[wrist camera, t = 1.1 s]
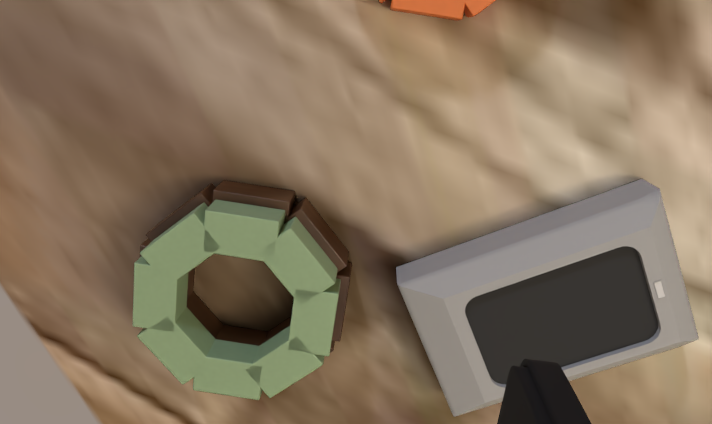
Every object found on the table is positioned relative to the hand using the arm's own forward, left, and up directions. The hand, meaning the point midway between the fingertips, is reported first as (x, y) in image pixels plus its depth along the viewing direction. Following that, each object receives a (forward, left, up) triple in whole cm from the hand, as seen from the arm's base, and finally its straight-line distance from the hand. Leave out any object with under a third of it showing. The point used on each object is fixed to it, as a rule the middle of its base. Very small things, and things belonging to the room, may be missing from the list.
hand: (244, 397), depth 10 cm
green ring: (+3, -10, -21) cm, 23 cm away
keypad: (+15, +4, -24) cm, 28 cm away
